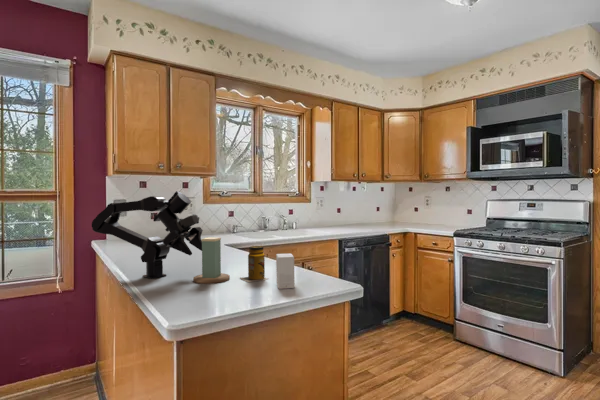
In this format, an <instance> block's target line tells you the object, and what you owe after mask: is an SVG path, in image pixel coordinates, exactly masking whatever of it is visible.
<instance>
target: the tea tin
mask: <svg viewBox="0 0 600 400" xmlns="http://www.w3.org/2000/svg"><path fill="white" fill-rule="evenodd" d="M221 239H222V237H214V236H213V237H204V238H203V237H202V238H201V240H202V251H201V266H202V267H201V274H202V278H216V277H218V276H220V275H221V273H222V267H221V264H222V263H221V261H222V260H221V259H222V257H221V254H222V253H221V249H222V248H221V245H222V243H221V241H222V240H221Z"/></svg>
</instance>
